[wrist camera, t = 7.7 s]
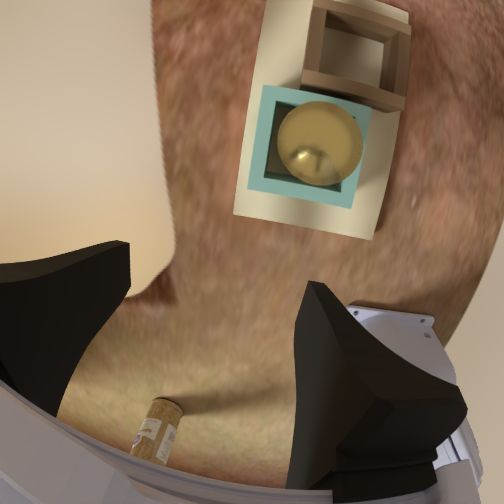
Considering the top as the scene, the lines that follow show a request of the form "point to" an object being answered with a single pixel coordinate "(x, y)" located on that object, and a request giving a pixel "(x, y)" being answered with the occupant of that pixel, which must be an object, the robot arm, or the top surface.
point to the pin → (320, 143)
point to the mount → (366, 26)
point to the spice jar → (157, 432)
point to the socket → (291, 185)
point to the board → (288, 76)
